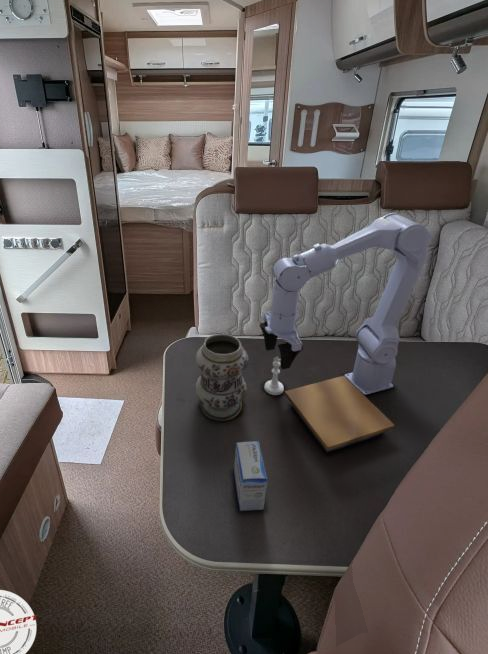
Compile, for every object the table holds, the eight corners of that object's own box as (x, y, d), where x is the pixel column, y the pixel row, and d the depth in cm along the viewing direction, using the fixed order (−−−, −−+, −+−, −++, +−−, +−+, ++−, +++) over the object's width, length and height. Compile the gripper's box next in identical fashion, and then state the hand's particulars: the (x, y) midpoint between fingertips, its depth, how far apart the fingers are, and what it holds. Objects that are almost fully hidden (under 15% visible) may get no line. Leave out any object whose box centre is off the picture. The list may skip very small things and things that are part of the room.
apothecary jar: (235, 384, 94) (238, 325, 86) (253, 418, 84) (258, 355, 76) (190, 393, 91) (189, 333, 83) (203, 429, 81) (203, 365, 73)
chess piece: (283, 396, 90) (287, 364, 86) (263, 393, 91) (266, 361, 87) (283, 383, 95) (287, 352, 90) (264, 380, 96) (267, 349, 91)
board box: (340, 387, 94) (343, 375, 92) (390, 438, 79) (394, 425, 77) (283, 403, 88) (284, 391, 86) (325, 461, 74) (328, 447, 72)
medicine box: (233, 472, 71) (235, 441, 68) (255, 470, 72) (258, 439, 68) (239, 512, 64) (241, 480, 61) (264, 510, 65) (268, 478, 61)
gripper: (254, 298, 87) (249, 344, 93) (284, 329, 75) (277, 380, 81) (279, 294, 90) (274, 339, 96) (313, 324, 78) (304, 374, 84)
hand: (277, 358), depth 89 cm, fingers open, 7 cm apart
